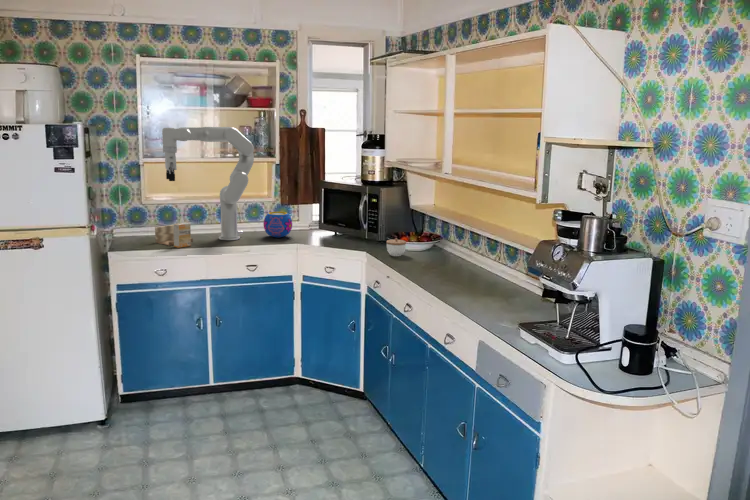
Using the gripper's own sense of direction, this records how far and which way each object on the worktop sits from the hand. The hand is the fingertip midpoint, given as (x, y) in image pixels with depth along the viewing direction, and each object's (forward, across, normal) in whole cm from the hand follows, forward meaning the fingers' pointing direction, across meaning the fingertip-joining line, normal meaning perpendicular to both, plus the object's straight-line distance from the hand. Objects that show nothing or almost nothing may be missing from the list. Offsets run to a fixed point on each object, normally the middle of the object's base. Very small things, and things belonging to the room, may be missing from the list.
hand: (170, 180), depth 369 cm
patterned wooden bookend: (+36, -3, -1) cm, 36 cm away
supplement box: (+36, -16, -3) cm, 40 cm away
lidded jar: (+35, -76, -107) cm, 136 cm away
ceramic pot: (+35, -6, -62) cm, 72 cm away
